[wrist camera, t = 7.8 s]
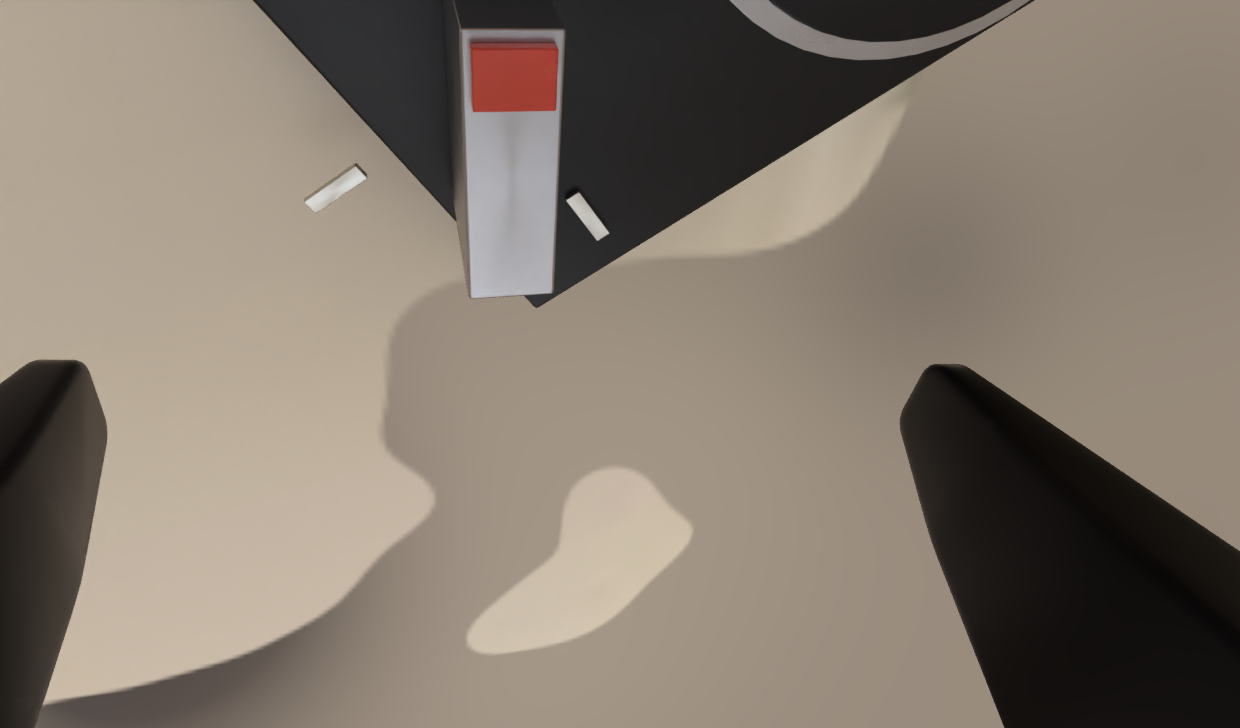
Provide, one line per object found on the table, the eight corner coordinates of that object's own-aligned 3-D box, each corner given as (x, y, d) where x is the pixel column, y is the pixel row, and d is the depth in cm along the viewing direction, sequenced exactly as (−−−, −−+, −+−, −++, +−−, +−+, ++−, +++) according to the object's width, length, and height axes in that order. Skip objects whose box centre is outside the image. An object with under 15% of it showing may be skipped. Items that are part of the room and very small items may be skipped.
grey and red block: (525, 191, 19) (556, 302, 16) (451, 193, 18) (469, 308, 16) (529, -51, 15) (569, 35, 13) (440, -53, 15) (460, 35, 12)
